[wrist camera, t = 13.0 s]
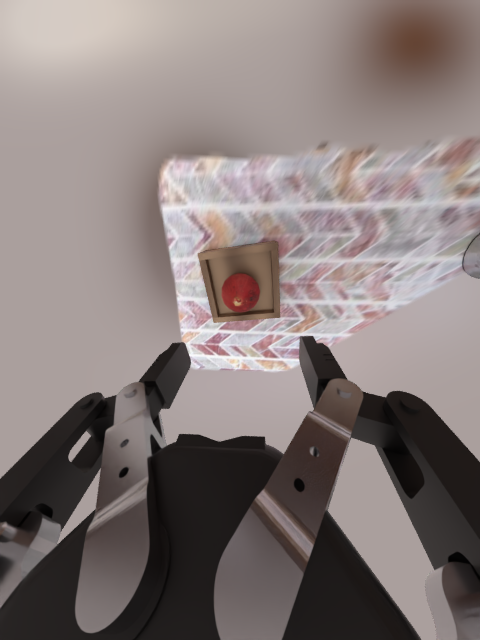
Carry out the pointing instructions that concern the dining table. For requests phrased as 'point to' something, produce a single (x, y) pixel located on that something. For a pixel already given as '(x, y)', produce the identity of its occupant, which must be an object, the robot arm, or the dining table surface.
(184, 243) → the dining table surface
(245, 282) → the pomegranate
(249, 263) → the brown wooden tray
